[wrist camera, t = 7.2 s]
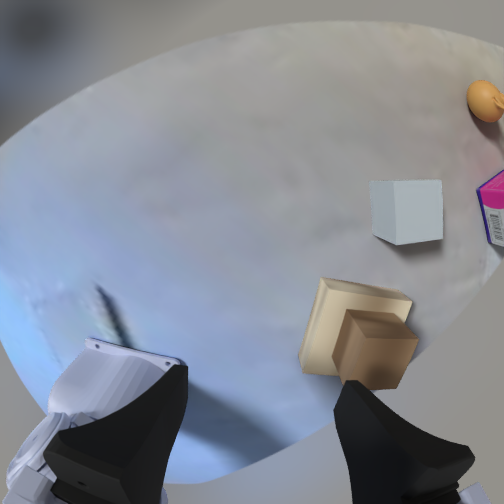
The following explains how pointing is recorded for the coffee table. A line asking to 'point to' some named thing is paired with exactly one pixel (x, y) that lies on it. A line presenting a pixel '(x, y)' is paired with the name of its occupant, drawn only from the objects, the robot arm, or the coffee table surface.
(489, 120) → the figurine
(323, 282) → the beech slab
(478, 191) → the supplement box
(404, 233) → the grey cube
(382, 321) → the walnut cube
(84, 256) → the coffee table surface
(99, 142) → the coffee table surface
